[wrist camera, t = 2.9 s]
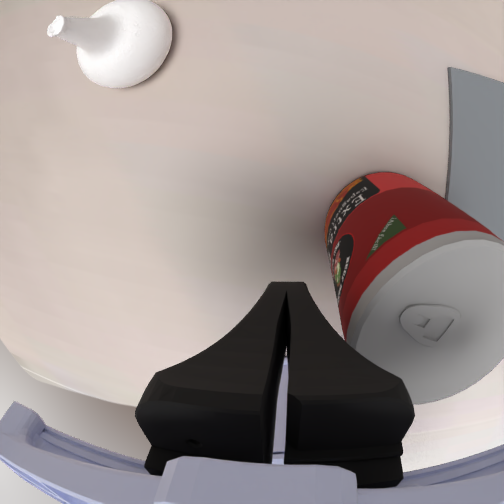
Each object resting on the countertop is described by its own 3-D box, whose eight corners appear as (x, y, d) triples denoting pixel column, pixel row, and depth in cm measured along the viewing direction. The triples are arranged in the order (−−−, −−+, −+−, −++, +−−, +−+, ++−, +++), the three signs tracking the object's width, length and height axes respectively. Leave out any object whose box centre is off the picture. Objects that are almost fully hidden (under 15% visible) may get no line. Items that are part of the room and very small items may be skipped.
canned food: (333, 158, 17) (387, 215, 7) (447, 184, 17) (558, 258, 7) (312, 271, 20) (321, 405, 11) (416, 285, 20) (476, 402, 10)
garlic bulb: (169, -5, 14) (107, -59, 6) (188, 68, 16) (118, 30, 8) (93, 34, 15) (16, 9, 8) (105, 105, 17) (18, 99, 10)
